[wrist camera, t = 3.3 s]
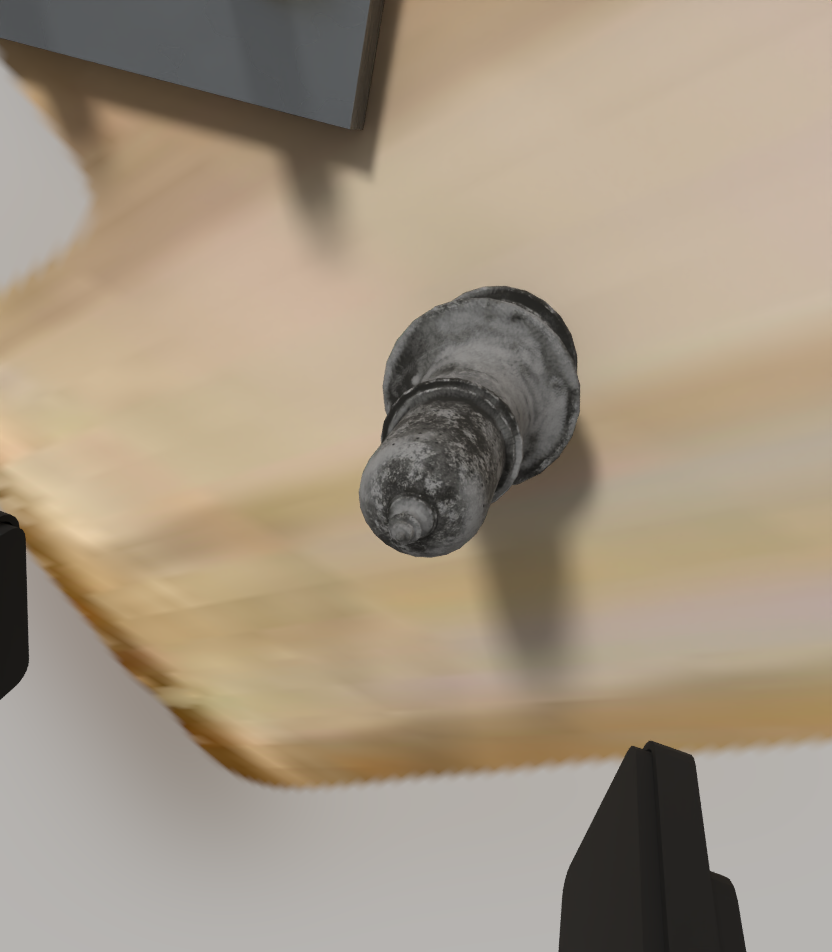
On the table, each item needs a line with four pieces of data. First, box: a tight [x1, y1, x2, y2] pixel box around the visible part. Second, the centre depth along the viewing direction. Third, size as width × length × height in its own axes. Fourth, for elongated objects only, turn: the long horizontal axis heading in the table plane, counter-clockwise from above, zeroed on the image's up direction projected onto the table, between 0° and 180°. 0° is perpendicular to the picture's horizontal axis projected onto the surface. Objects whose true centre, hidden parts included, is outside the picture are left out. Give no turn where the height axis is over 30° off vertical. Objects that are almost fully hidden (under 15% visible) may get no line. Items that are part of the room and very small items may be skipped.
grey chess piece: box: [359, 286, 580, 557], centre depth 19 cm, size 6×6×12 cm
